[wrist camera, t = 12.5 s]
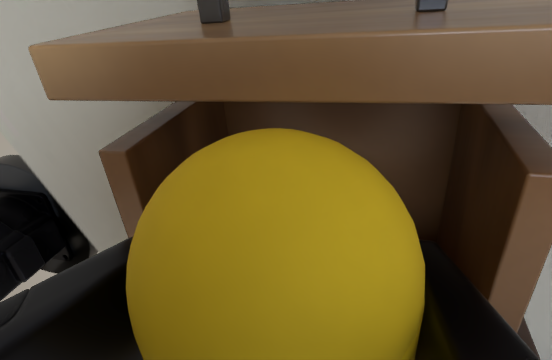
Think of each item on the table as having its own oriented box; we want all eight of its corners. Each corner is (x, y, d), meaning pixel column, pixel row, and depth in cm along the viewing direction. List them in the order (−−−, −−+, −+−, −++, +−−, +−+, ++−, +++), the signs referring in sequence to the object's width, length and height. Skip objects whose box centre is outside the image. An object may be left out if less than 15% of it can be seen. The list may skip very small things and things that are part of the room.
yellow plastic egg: (398, 316, 10) (407, 579, 6) (226, 290, 11) (129, 486, 7) (429, 91, 7) (504, 296, 3) (187, 91, 8) (-30, 226, 4)
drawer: (159, -136, 12) (-94, -252, 5) (579, -214, 9) (1046, -655, 2) (233, 273, 20) (167, 404, 14) (453, 304, 17) (489, 487, 11)
